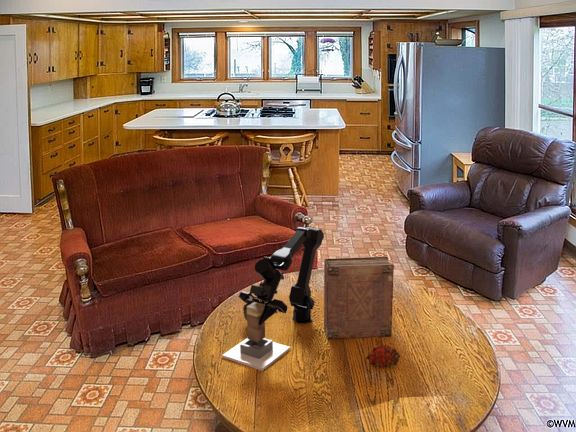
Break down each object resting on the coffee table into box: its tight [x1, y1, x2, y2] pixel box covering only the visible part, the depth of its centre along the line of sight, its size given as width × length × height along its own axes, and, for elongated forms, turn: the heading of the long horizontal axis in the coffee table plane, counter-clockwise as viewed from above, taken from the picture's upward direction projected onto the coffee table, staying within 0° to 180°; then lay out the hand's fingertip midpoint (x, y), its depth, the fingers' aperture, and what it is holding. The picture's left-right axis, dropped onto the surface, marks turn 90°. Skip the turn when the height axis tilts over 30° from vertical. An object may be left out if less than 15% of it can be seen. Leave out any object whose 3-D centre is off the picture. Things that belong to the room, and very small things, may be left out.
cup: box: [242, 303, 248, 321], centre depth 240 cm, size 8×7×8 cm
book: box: [323, 255, 395, 340], centre depth 229 cm, size 25×9×30 cm, turn 95°
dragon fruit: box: [365, 344, 401, 370], centre depth 207 cm, size 8×8×12 cm
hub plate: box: [222, 337, 291, 372], centre depth 217 cm, size 18×18×4 cm
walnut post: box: [246, 302, 266, 342], centre depth 214 cm, size 5×5×13 cm
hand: (253, 323), depth 213 cm, fingers closed on walnut post, 5 cm apart
